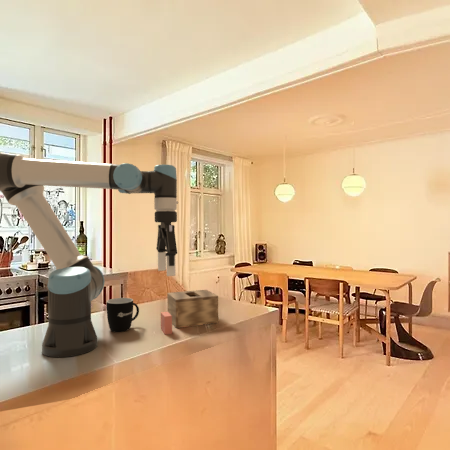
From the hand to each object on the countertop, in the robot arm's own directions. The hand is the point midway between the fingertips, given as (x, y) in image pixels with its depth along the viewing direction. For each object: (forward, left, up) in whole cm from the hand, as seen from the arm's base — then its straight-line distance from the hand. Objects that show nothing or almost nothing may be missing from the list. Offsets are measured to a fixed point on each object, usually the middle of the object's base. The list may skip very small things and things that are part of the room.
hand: (166, 273), depth 122 cm
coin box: (+12, +9, -20) cm, 25 cm away
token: (0, 0, -20) cm, 20 cm away
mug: (-13, +9, -20) cm, 26 cm away
